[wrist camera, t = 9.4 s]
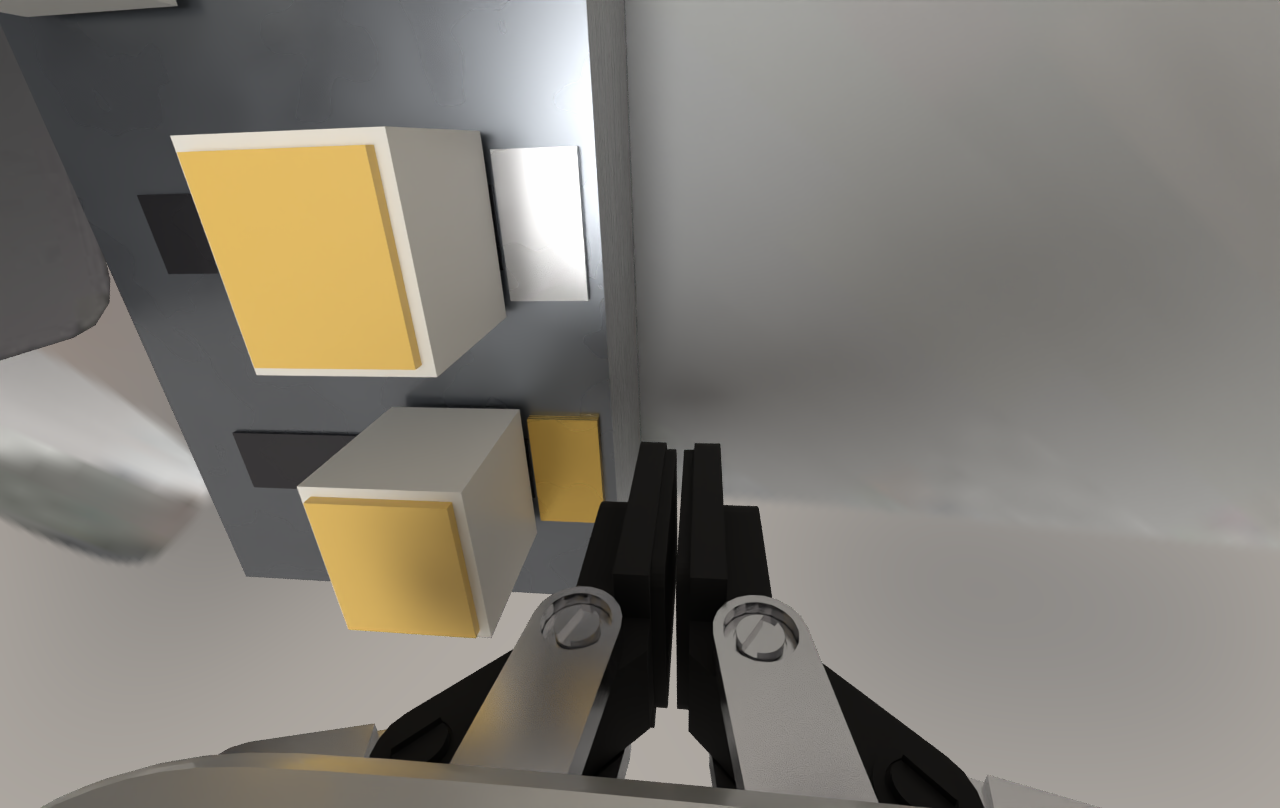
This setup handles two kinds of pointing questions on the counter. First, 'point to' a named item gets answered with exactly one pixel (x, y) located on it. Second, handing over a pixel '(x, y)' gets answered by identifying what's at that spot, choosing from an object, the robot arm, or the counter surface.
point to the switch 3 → (425, 520)
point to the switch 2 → (350, 245)
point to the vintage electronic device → (41, 231)
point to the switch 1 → (75, 6)
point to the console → (352, 98)
